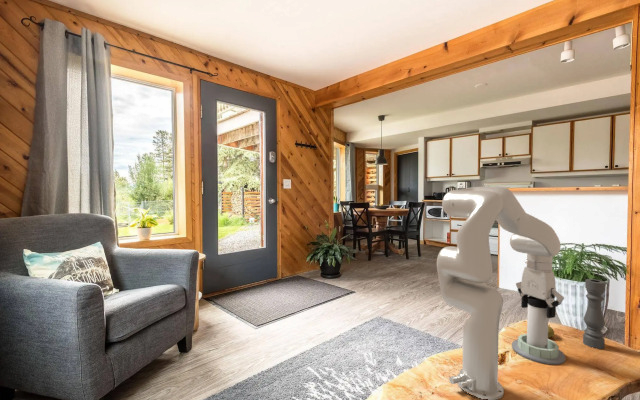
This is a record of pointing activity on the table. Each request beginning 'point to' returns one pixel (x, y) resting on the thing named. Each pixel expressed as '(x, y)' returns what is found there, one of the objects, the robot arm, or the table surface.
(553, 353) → the mug dock
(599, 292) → the candle holder
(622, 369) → the table surface
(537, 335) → the travel mug
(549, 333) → the sculpture
